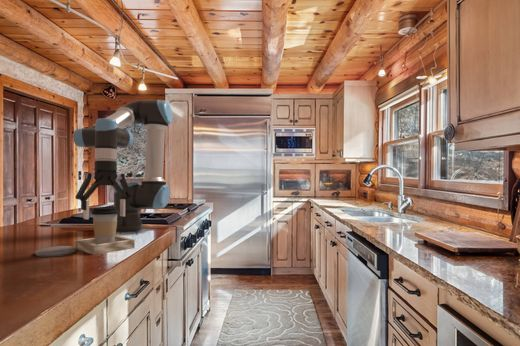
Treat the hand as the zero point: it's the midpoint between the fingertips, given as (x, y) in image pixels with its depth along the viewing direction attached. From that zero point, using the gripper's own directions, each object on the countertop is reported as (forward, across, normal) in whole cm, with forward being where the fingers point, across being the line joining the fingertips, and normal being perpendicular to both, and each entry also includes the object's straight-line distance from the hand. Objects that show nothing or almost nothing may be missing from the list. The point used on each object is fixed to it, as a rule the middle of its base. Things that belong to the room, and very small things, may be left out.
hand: (105, 217), depth 128 cm
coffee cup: (+12, 0, 0) cm, 12 cm away
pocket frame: (+11, 0, 0) cm, 11 cm away
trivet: (+12, +15, -5) cm, 19 cm away
